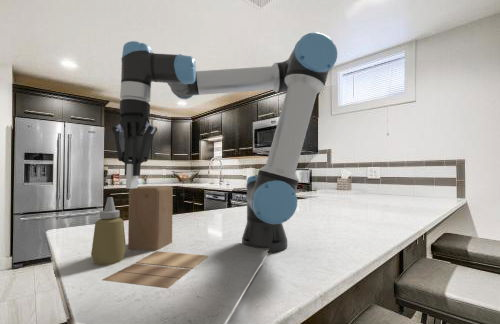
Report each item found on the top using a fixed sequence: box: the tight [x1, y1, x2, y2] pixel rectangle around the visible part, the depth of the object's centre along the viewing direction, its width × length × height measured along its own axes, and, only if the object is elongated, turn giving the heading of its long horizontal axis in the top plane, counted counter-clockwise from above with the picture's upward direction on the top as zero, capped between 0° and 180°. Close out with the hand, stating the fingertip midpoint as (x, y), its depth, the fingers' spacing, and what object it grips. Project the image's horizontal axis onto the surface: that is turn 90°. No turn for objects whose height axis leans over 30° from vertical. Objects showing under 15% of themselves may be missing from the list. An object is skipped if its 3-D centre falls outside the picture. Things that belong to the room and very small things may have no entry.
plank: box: [135, 250, 209, 270], centre depth 68 cm, size 16×9×2 cm, turn 76°
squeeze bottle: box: [90, 196, 127, 266], centre depth 68 cm, size 8×8×18 cm
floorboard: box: [102, 263, 192, 289], centre depth 58 cm, size 16×10×2 cm, turn 76°
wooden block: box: [127, 185, 174, 252], centre depth 82 cm, size 10×10×20 cm
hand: (131, 188), depth 69 cm, fingers closed
